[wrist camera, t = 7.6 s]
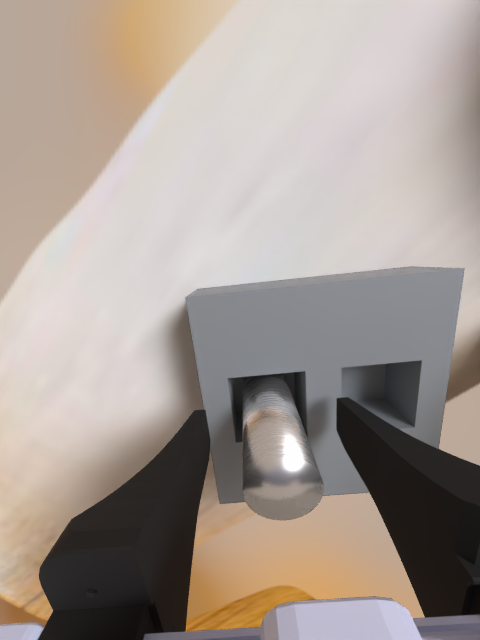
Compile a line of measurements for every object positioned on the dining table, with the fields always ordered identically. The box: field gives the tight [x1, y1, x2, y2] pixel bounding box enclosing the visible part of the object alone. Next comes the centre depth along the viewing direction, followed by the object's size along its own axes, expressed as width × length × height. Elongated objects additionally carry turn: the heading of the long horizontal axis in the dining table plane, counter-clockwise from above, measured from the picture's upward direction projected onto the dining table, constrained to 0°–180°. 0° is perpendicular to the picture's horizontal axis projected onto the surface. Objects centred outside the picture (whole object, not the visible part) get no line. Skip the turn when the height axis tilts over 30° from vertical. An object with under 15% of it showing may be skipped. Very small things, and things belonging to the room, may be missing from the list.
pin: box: [243, 373, 324, 520], centre depth 12 cm, size 3×3×8 cm
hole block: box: [185, 267, 465, 504], centre depth 15 cm, size 14×14×4 cm
